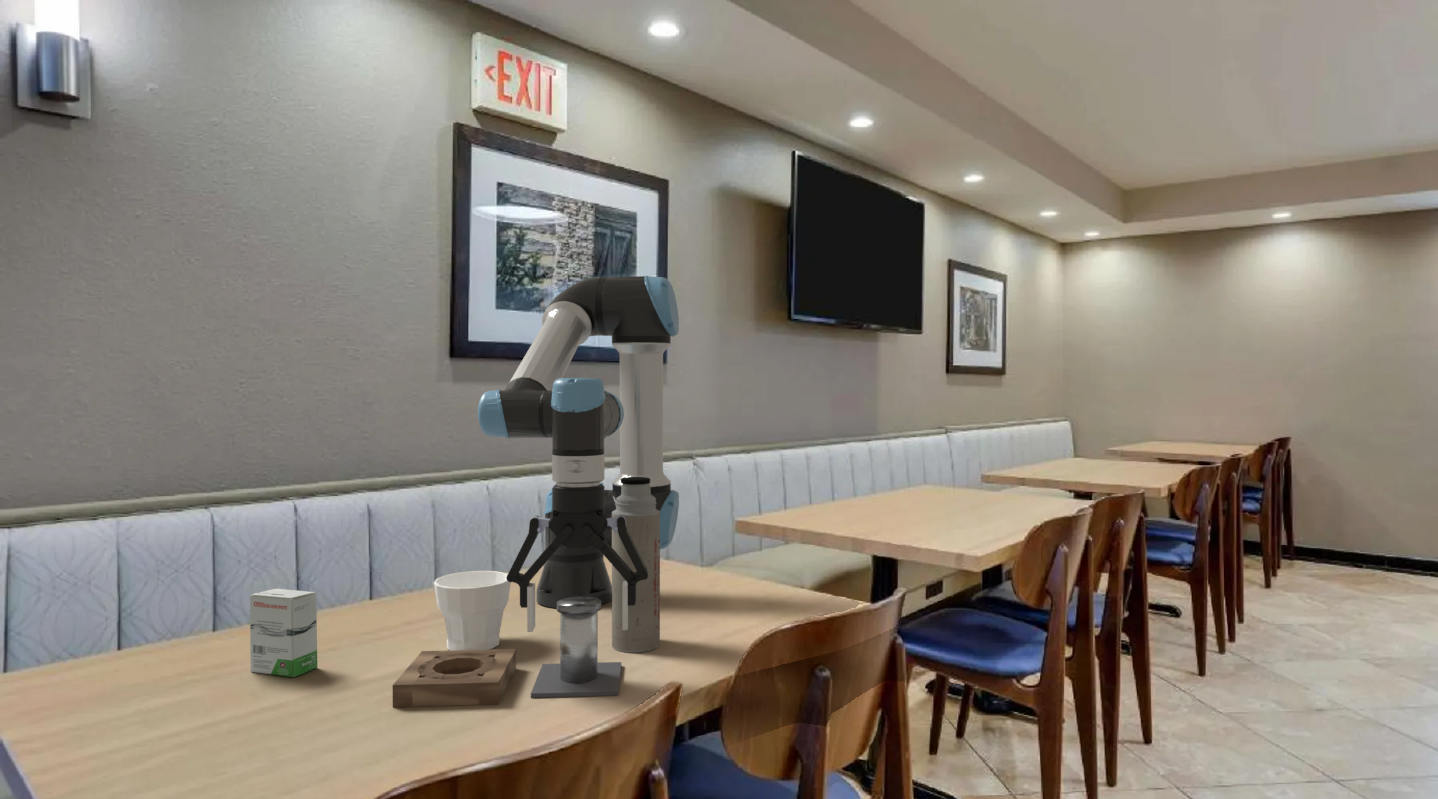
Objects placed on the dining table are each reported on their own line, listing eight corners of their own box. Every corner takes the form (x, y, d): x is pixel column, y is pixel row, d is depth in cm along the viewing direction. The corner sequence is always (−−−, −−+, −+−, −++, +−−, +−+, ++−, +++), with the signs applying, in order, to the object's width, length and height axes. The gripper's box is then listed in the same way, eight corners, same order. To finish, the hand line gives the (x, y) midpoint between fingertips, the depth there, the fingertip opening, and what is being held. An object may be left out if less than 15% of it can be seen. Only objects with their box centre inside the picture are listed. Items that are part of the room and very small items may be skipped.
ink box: (319, 668, 125) (318, 590, 125) (293, 678, 120) (292, 598, 120) (275, 661, 128) (275, 586, 128) (248, 672, 123) (247, 593, 123)
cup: (527, 639, 139) (527, 574, 139) (476, 661, 128) (476, 591, 128) (470, 630, 144) (470, 567, 144) (417, 650, 133) (416, 583, 133)
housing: (422, 670, 124) (422, 651, 124) (516, 668, 125) (516, 648, 125) (392, 707, 110) (392, 685, 110) (498, 704, 111) (498, 682, 111)
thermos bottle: (665, 639, 139) (665, 475, 139) (652, 654, 132) (652, 480, 131) (620, 636, 141) (620, 474, 140) (605, 651, 133) (605, 479, 133)
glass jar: (559, 669, 123) (559, 596, 122) (602, 668, 123) (602, 596, 123) (553, 685, 116) (554, 608, 116) (599, 684, 117) (599, 607, 117)
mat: (542, 667, 125) (542, 663, 125) (621, 665, 126) (621, 662, 126) (530, 697, 113) (530, 693, 113) (617, 695, 114) (617, 691, 114)
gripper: (485, 487, 114) (486, 638, 115) (664, 486, 116) (664, 634, 117) (496, 481, 122) (496, 622, 122) (663, 479, 124) (663, 619, 124)
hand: (578, 628), depth 120 cm, fingers open, 13 cm apart
